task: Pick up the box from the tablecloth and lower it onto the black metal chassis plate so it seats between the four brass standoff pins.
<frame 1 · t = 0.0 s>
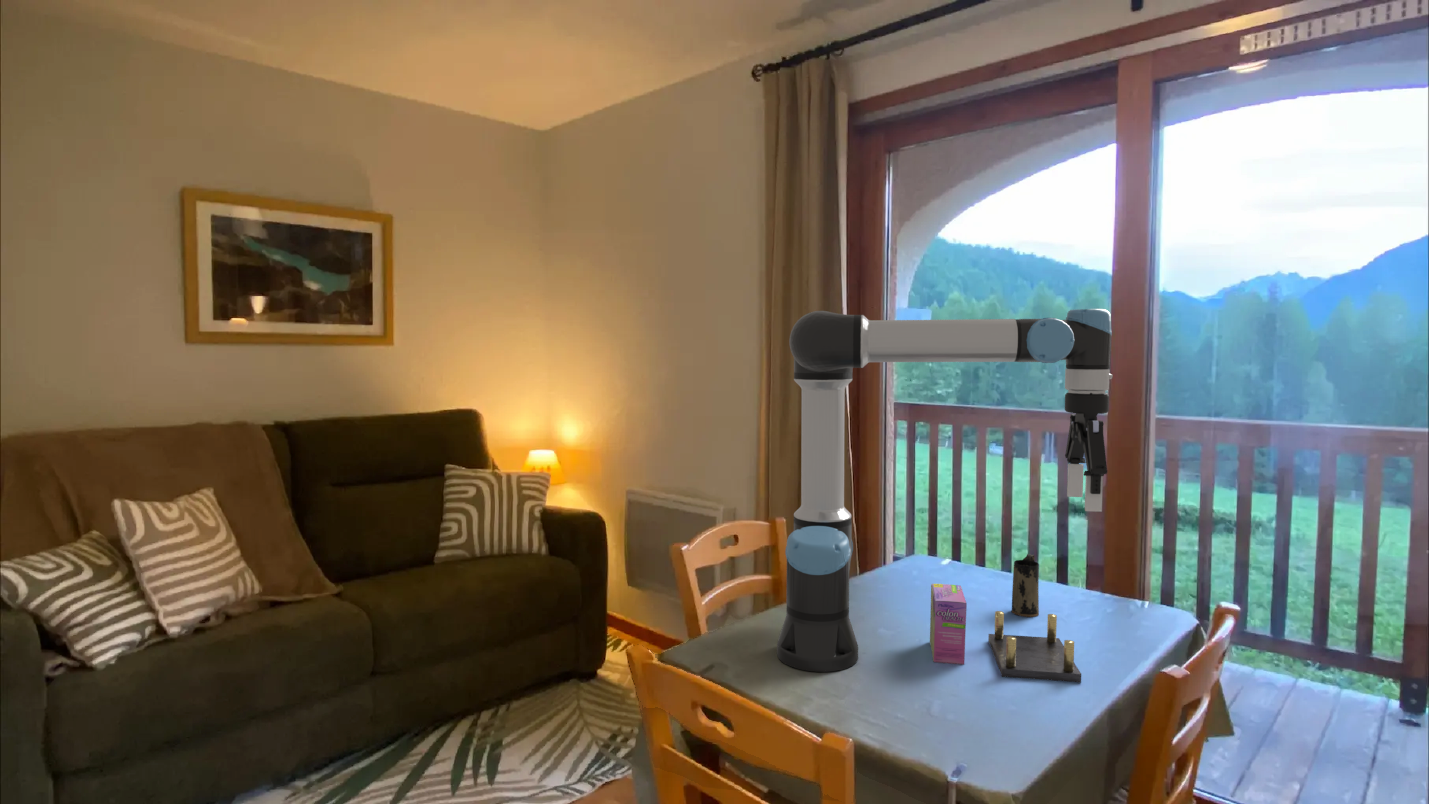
hand: (1083, 503, 151), 28 cm above the table, fingers open, 13 cm apart
box: (946, 654, 151), on the table
chassis: (1031, 660, 147), on the table
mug: (1026, 612, 174), on the table
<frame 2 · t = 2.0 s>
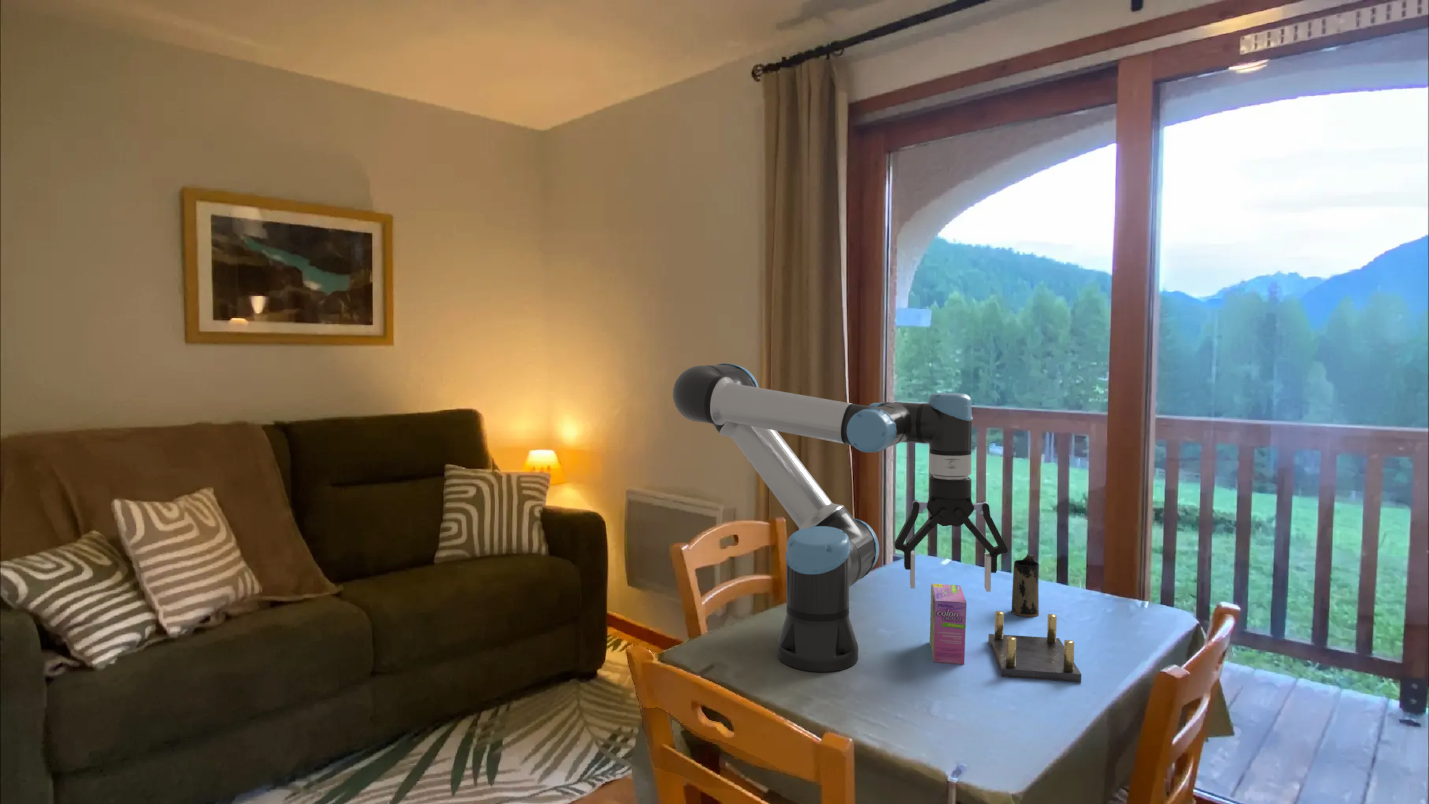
hand: (949, 588, 150), 13 cm above the table, fingers open, 13 cm apart
nothing on the table moved.
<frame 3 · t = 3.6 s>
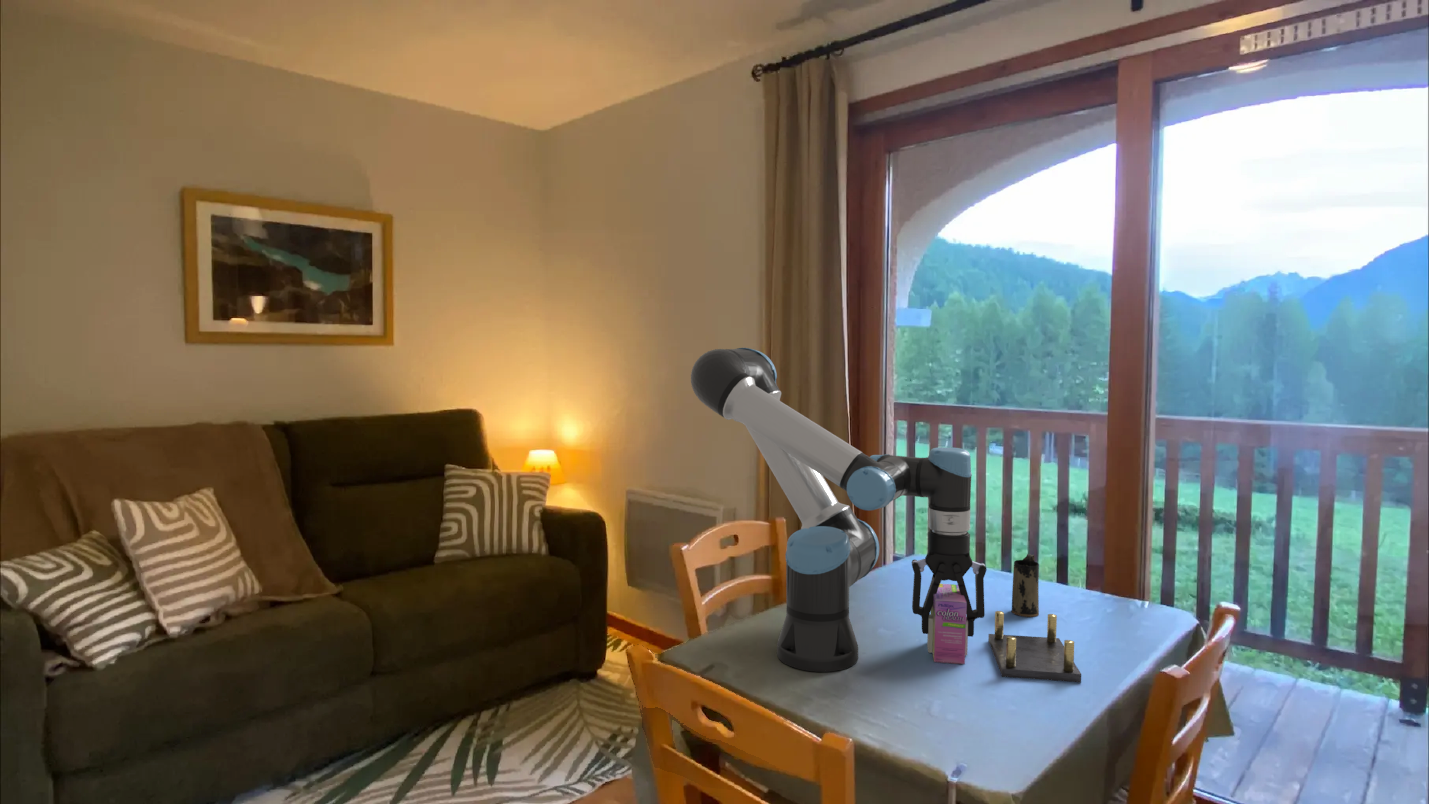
hand: (947, 650, 151), 0 cm above the table, fingers closed on box, 6 cm apart
box: (947, 653, 151), on the table, touching gripper
everything else where it was.
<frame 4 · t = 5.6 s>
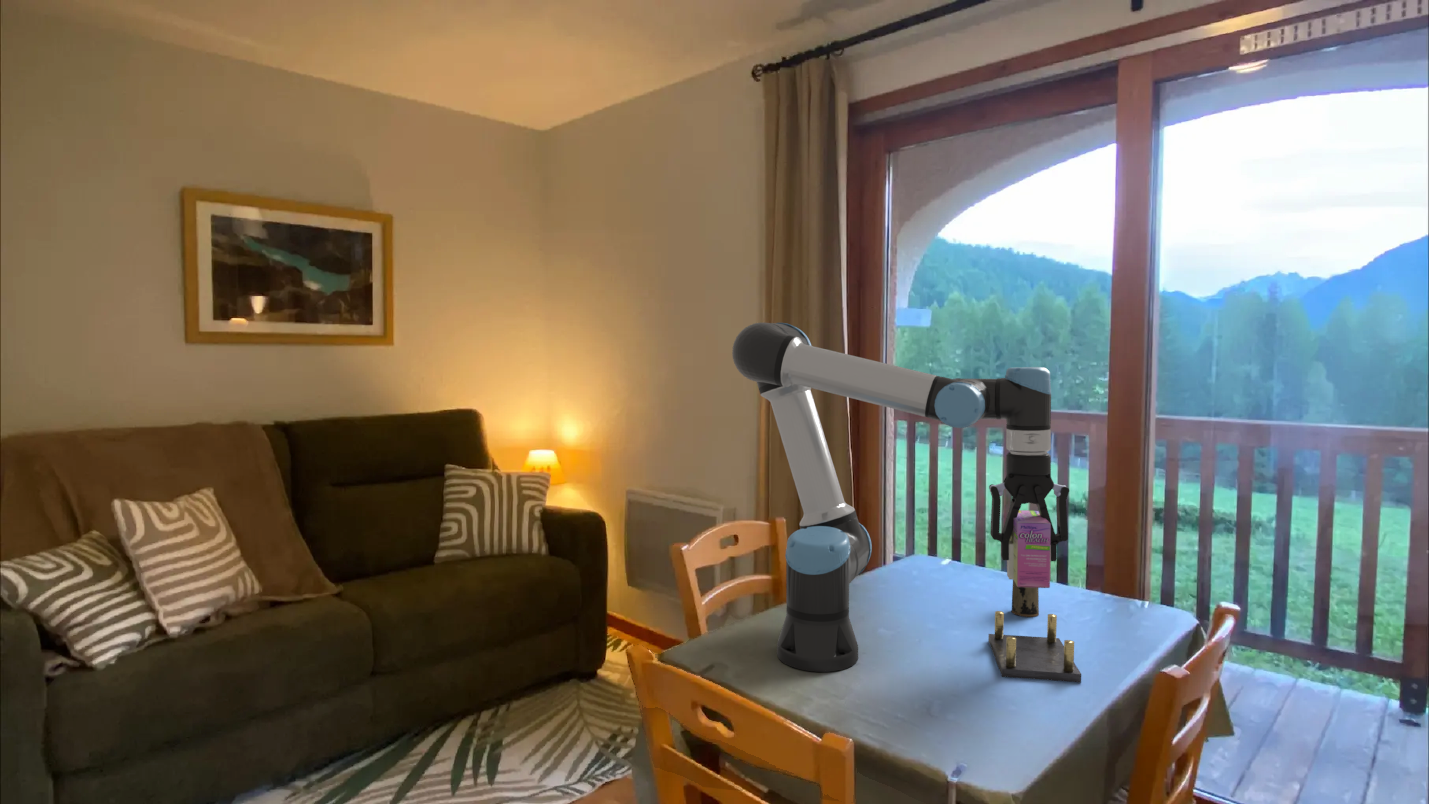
hand: (1028, 577, 146), 16 cm above the table, fingers closed on box, 6 cm apart
box: (1028, 580, 146), point 15 cm above the table, touching gripper
everything else where it was.
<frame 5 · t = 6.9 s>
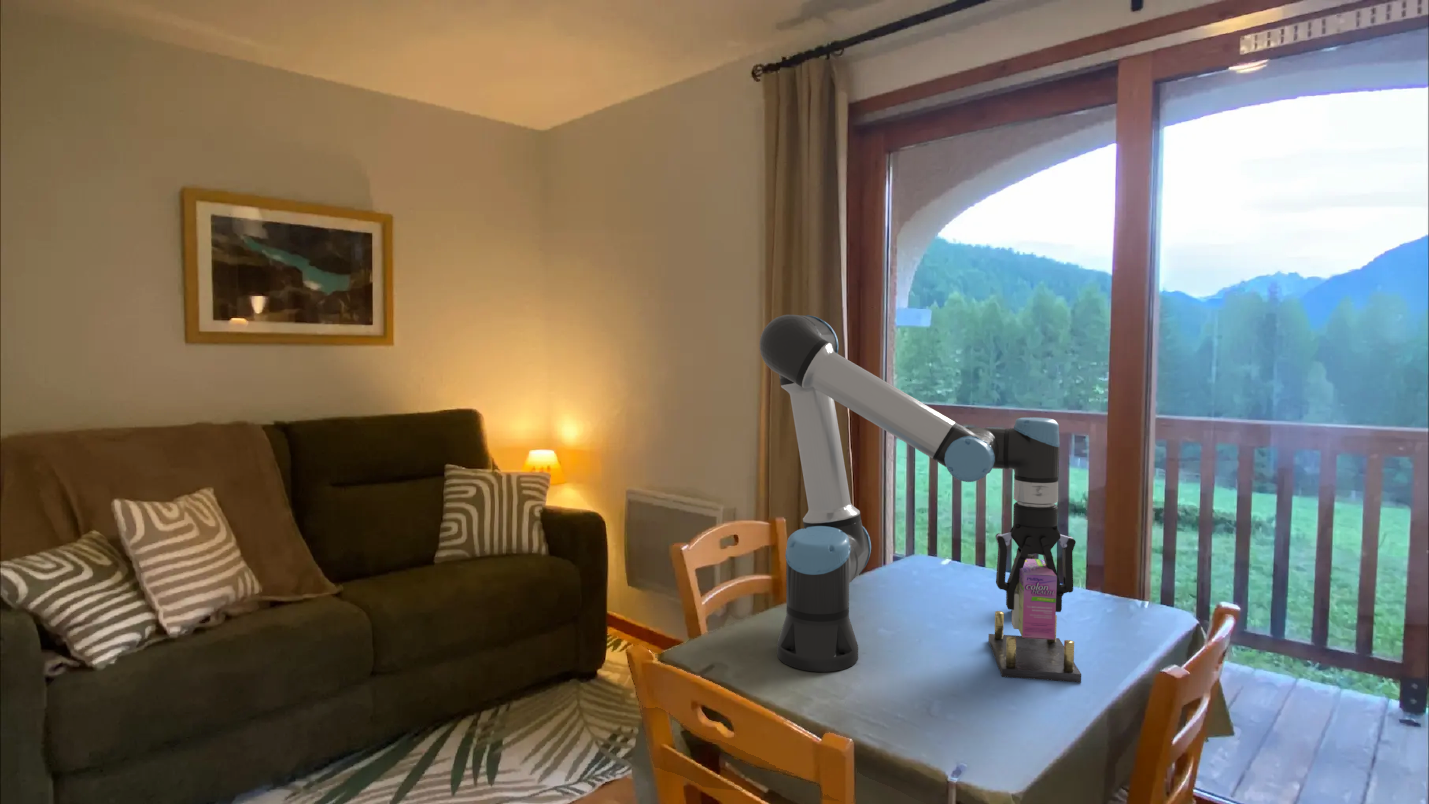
hand: (1033, 627, 147), 6 cm above the table, fingers closed on box, 6 cm apart
box: (1033, 630, 147), point 6 cm above the table, touching gripper
everything else where it was.
when the fingers open (3 cm above the table, at t = 7.9 s): box stays where it is, resting on chassis.
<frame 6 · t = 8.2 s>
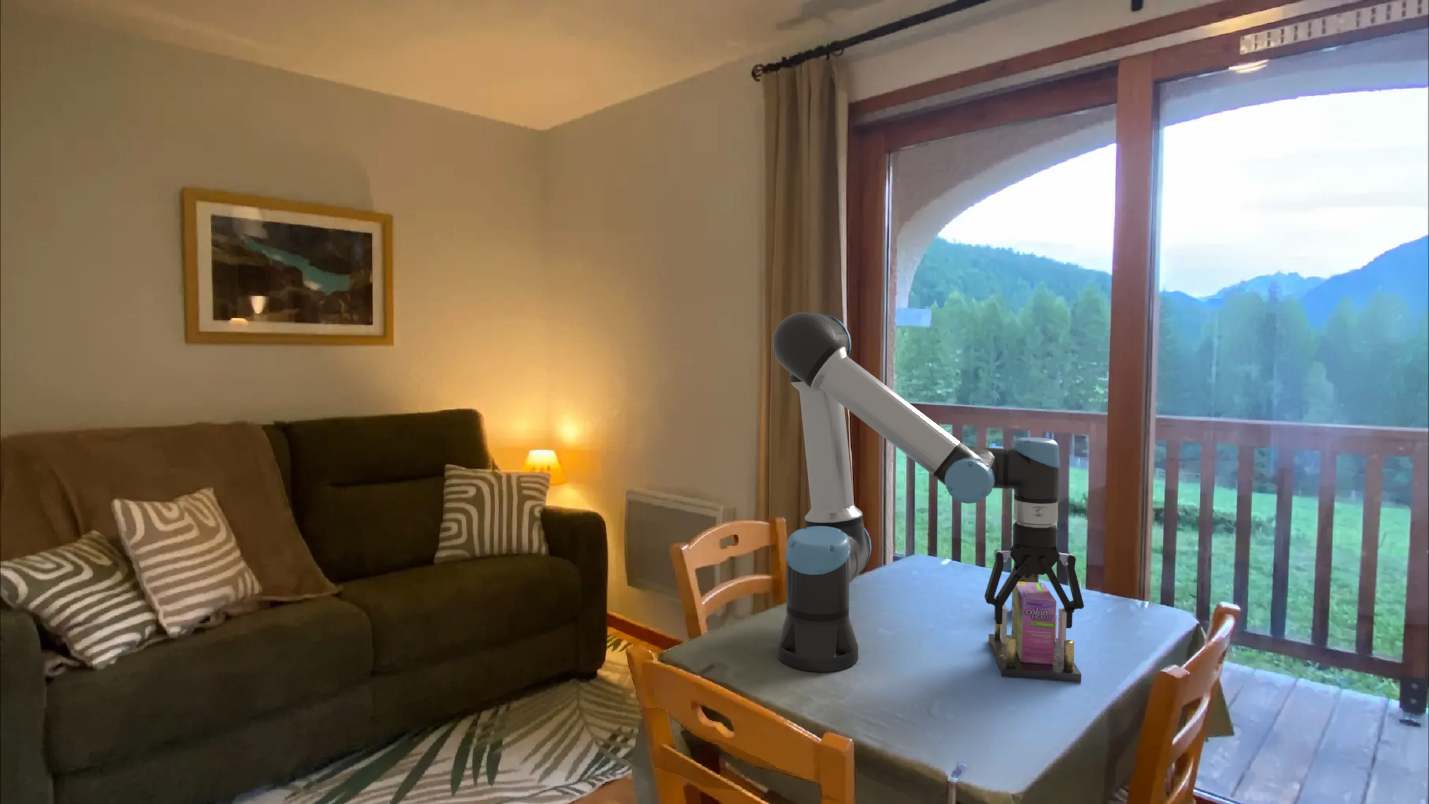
hand: (1032, 642, 147), 3 cm above the table, fingers open, 9 cm apart
box: (1032, 653, 147), point 1 cm above the table, touching chassis
everything else where it was.
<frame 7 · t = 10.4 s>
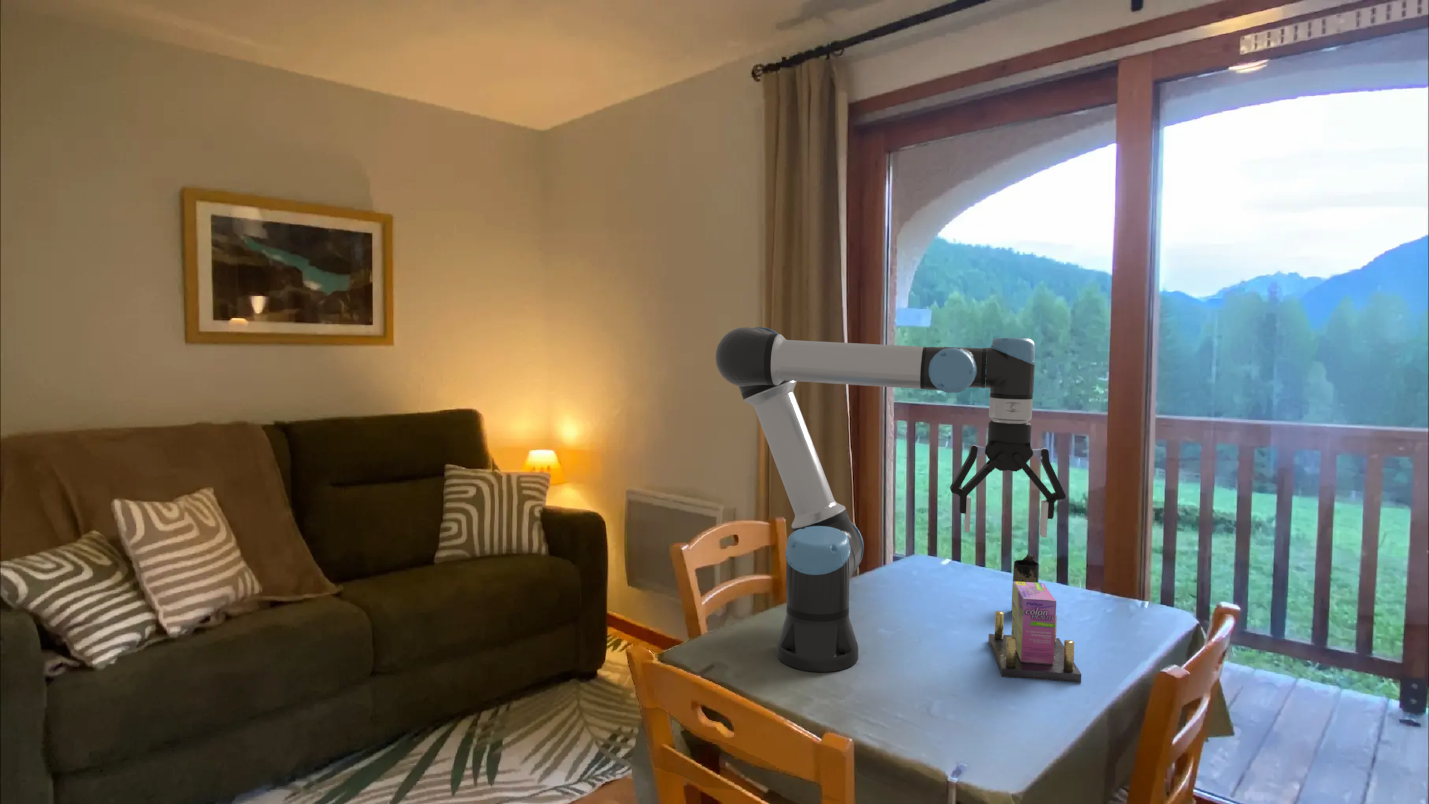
hand: (1004, 533, 150), 23 cm above the table, fingers open, 13 cm apart
nothing on the table moved.
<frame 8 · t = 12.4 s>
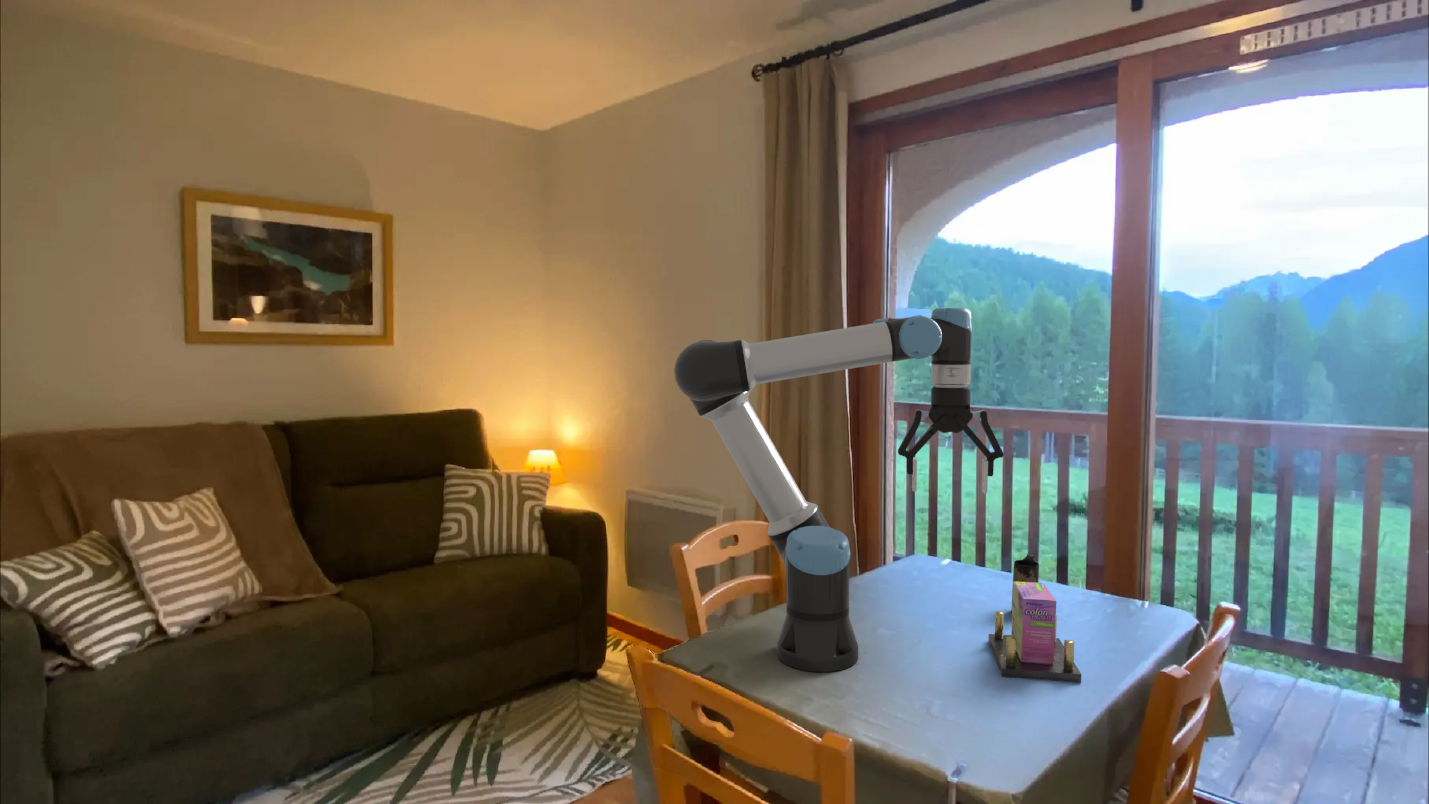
hand: (949, 491, 161), 29 cm above the table, fingers open, 13 cm apart
nothing on the table moved.
at the end: box 0.1 cm off-centre on the chassis, point 1.3 cm above the chassis's base; box tilted 0°; the gripper is holding nothing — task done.
